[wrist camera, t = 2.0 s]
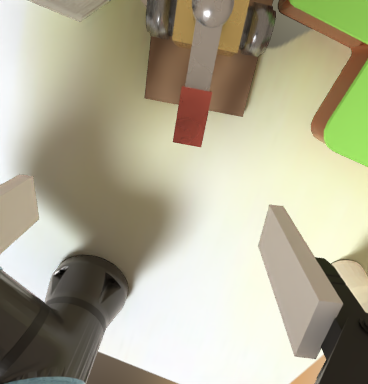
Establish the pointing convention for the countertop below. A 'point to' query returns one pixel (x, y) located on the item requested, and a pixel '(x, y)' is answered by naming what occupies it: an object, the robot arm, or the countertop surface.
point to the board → (221, 79)
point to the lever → (200, 70)
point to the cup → (354, 280)
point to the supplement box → (72, 7)
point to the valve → (231, 31)
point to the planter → (349, 77)
